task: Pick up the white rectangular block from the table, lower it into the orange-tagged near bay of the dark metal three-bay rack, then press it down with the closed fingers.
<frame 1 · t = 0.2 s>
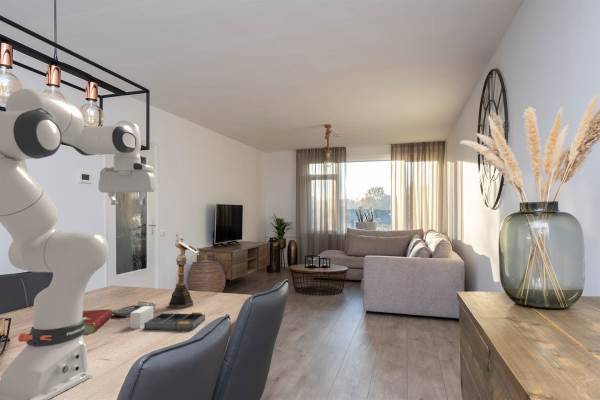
hand: (126, 204, 127), 47 cm above the table, tool pointing down, fingers open, 8 cm apart
graphics card: (131, 314, 157), on the table
hardcover book: (87, 327, 139), on the table
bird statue: (186, 305, 170), on the table
white rectangular block: (142, 324, 140), on the table
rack: (175, 324, 139), on the table
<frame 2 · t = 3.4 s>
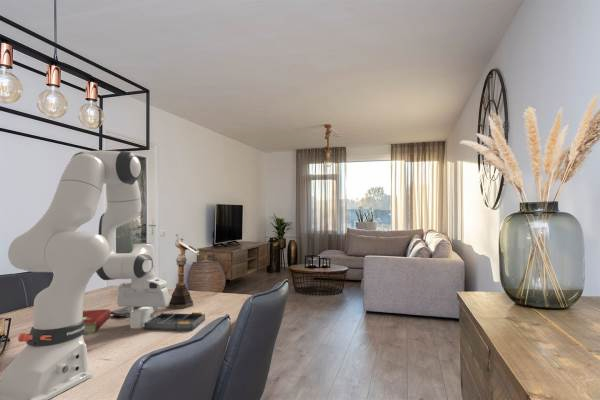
hand: (143, 317, 140), 3 cm above the table, tool pointing down, fingers open, 7 cm apart
nothing on the table moved.
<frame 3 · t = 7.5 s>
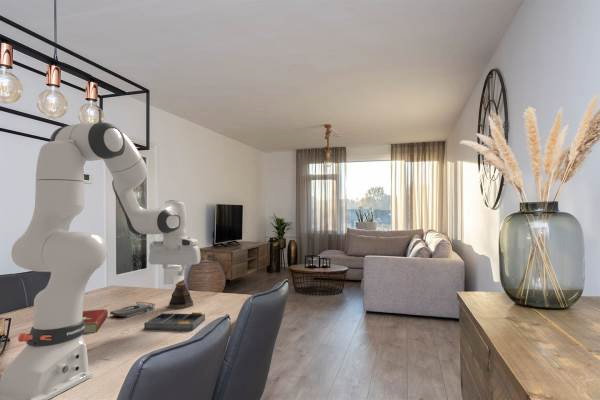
hand: (174, 275, 140), 19 cm above the table, tool pointing down, fingers closed on white rectangular block, 4 cm apart
white rectangular block: (174, 281, 140), point 17 cm above the table, touching gripper
when the fingers open (4 cm above the table, at t = 11.4 s): white rectangular block stays where it is, resting on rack.
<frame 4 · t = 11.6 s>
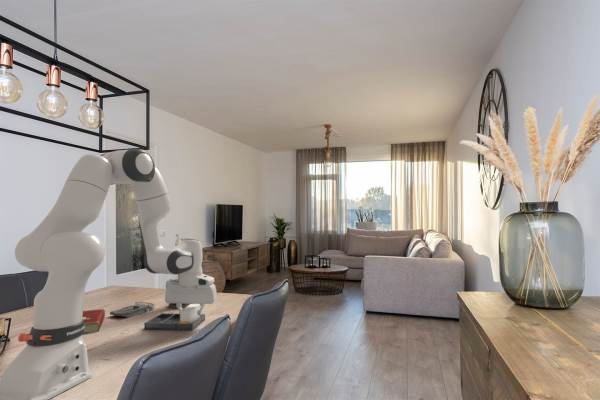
hand: (190, 314, 138), 4 cm above the table, tool pointing down, fingers open, 6 cm apart
white rectangular block: (190, 322, 138), point 1 cm above the table, touching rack
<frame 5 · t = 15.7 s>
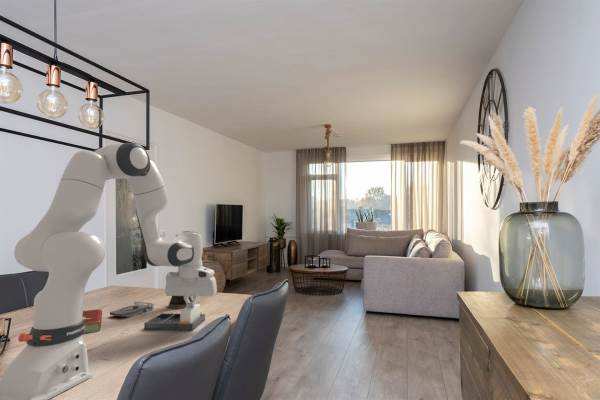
hand: (190, 307, 139), 7 cm above the table, tool pointing down, fingers closed, pressing on white rectangular block
white rectangular block: (190, 322, 138), point 1 cm above the table, touching gripper, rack
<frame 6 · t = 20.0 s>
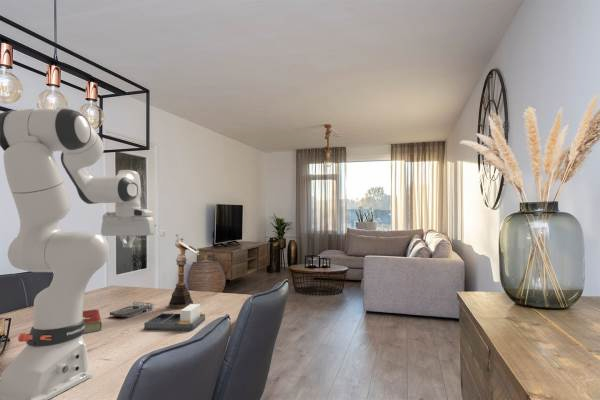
hand: (127, 247, 136), 31 cm above the table, tool pointing down, fingers closed
white rectangular block: (190, 322, 138), point 1 cm above the table, touching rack
at the end: white rectangular block 0.2 cm from the target spot on the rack, point 1.0 cm above the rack's base; white rectangular block tilted 0°; the gripper is holding nothing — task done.
